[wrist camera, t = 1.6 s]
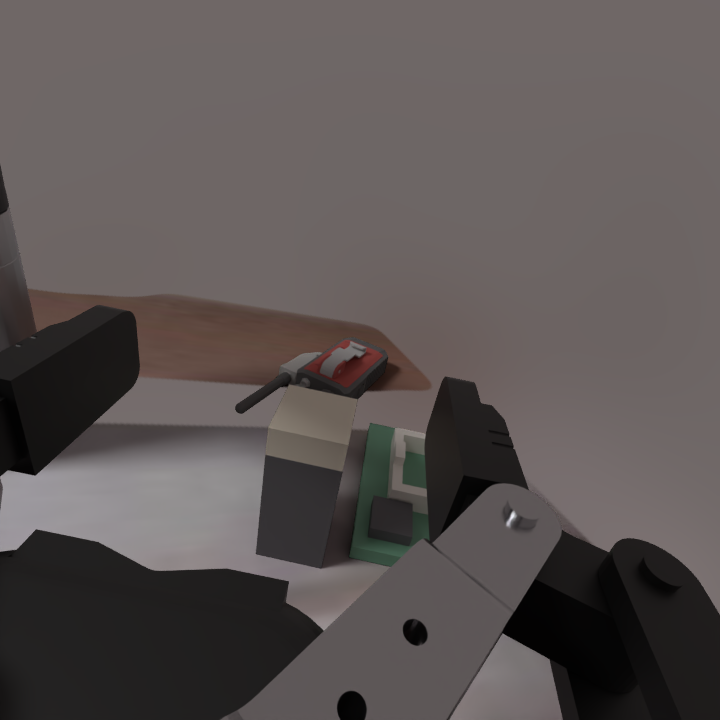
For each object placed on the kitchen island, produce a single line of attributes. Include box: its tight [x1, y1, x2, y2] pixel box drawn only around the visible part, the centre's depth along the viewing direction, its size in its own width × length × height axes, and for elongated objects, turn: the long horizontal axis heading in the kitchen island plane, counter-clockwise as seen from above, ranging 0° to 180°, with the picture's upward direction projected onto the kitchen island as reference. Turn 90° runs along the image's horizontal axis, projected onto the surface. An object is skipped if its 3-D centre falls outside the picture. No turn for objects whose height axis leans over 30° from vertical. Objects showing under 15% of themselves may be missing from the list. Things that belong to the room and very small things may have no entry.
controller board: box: [349, 423, 430, 567], centre depth 35 cm, size 10×14×4 cm
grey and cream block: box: [256, 384, 358, 568], centre depth 28 cm, size 4×4×11 cm
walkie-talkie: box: [235, 337, 388, 414], centre depth 46 cm, size 9×4×20 cm
